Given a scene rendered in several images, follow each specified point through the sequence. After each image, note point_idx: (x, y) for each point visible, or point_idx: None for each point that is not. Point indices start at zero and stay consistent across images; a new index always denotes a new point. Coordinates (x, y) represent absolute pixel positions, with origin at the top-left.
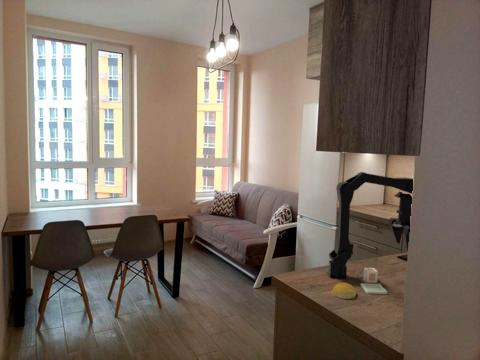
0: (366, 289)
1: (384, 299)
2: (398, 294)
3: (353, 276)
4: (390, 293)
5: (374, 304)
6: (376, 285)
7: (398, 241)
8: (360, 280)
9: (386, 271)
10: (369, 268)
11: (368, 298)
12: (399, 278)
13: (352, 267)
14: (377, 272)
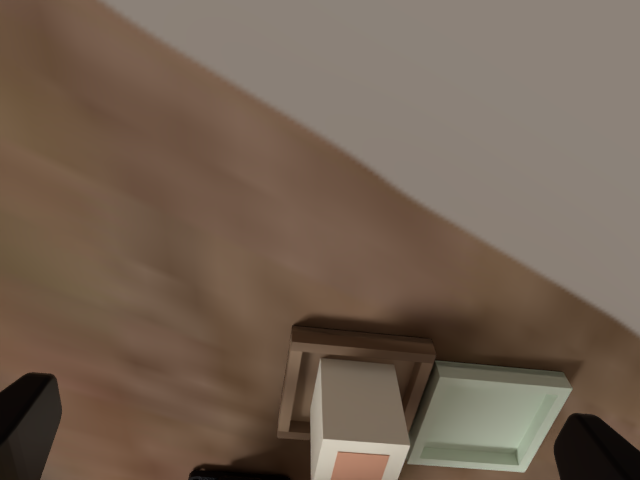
0: (500, 467)
1: (608, 407)
2: (581, 306)
3: (231, 426)
4: (548, 343)
5: None
6: (442, 391)
7: (36, 434)
8: None
9: (75, 146)
10: (336, 471)
11: None
12: (275, 120)
13: None
14: (408, 438)
